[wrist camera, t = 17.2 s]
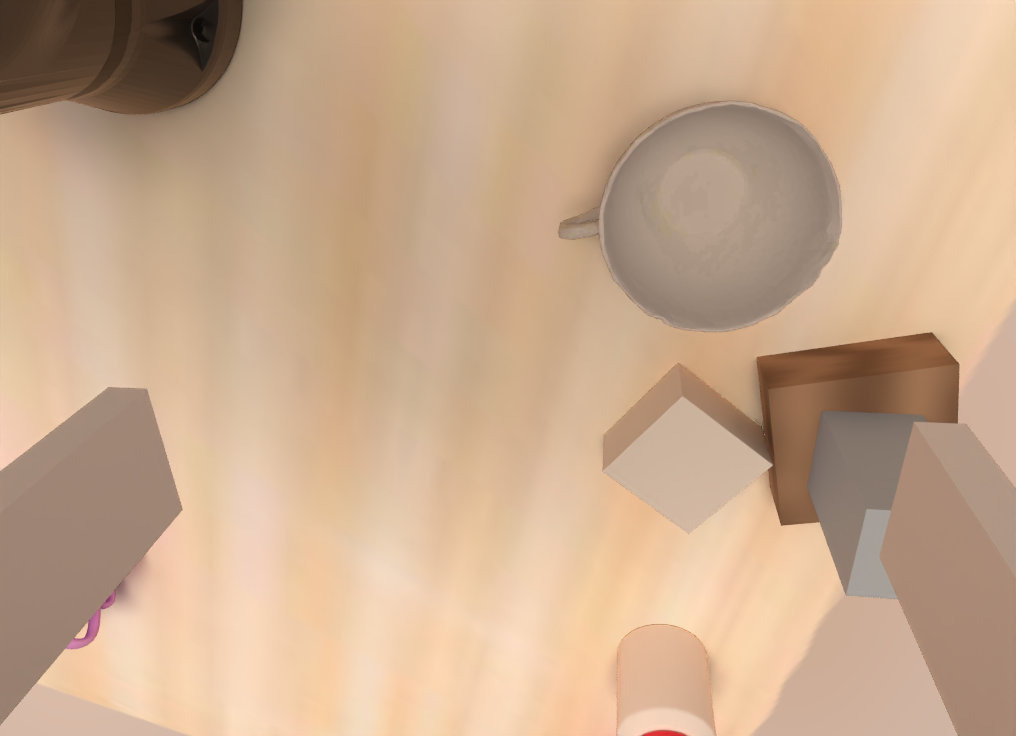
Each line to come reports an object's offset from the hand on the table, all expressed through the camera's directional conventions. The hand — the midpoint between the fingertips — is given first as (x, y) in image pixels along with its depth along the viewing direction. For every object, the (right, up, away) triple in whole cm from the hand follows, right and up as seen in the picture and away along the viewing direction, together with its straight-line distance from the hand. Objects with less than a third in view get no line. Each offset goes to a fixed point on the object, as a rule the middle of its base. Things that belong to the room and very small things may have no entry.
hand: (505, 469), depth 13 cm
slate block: (+23, -4, +35) cm, 42 cm away
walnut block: (+24, -1, +39) cm, 46 cm away
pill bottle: (+14, -24, +52) cm, 59 cm away
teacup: (+11, +13, +34) cm, 38 cm away
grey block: (+13, -3, +42) cm, 44 cm away
